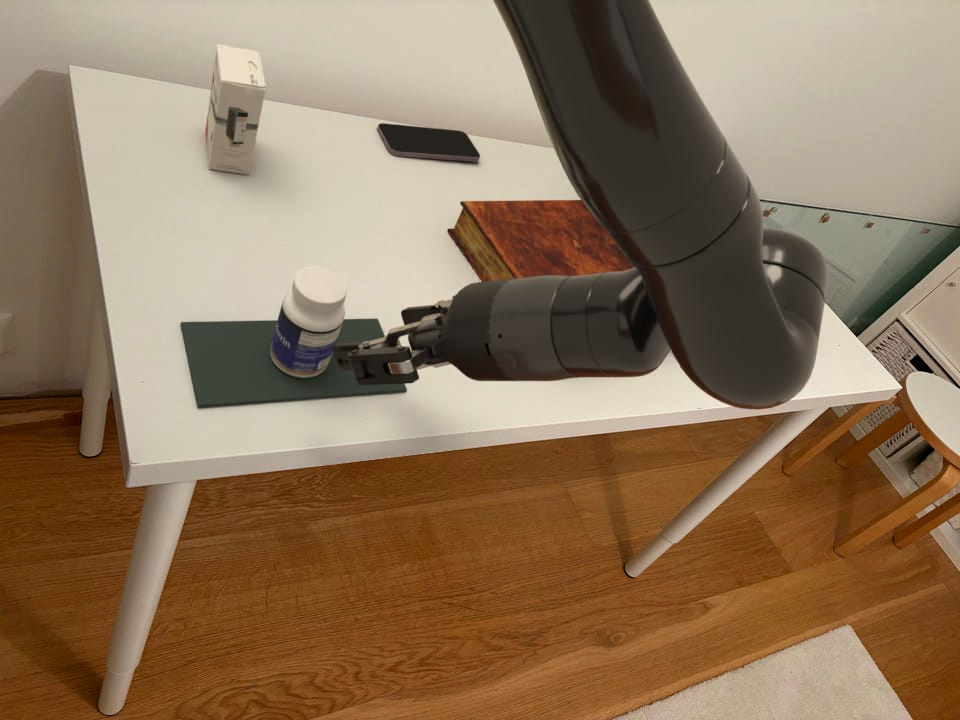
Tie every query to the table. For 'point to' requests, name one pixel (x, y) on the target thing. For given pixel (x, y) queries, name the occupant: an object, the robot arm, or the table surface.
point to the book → (534, 239)
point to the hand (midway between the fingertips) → (373, 337)
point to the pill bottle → (309, 322)
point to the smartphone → (427, 142)
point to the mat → (265, 364)
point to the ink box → (234, 109)
